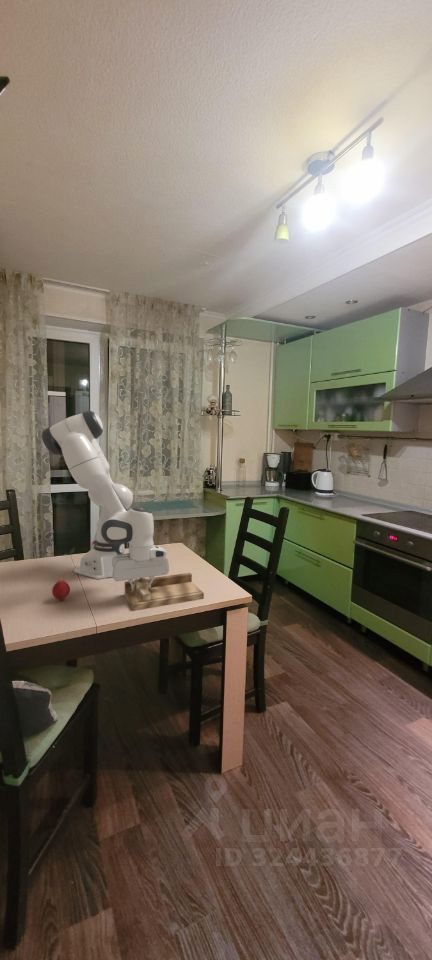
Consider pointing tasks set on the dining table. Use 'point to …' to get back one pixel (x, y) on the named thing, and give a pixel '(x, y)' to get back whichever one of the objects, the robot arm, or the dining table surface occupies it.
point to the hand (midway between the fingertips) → (141, 588)
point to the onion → (60, 589)
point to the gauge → (142, 589)
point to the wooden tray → (165, 591)
